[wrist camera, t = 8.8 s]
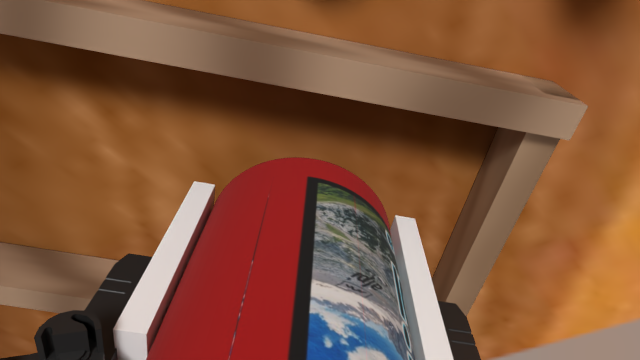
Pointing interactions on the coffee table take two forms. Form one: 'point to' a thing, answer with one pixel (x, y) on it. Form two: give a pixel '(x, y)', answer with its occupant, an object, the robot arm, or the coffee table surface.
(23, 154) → the coffee table surface
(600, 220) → the coffee table surface
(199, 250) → the beverage can
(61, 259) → the bay
